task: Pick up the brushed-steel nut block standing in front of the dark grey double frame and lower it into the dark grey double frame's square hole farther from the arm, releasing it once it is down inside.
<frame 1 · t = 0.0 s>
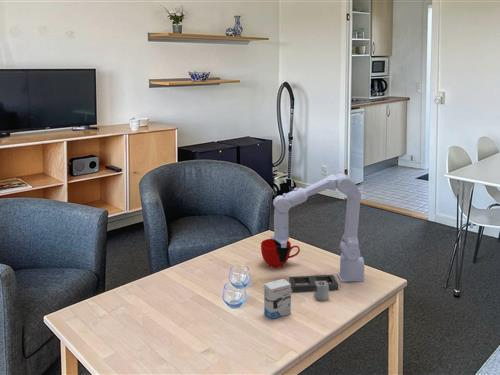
hand: (281, 257, 202), 10 cm above the table, tool pointing down, fingers open, 7 cm apart
ceramic cup: (280, 265, 220), on the table
nut block: (321, 298, 191), on the table
ink box: (277, 314, 180), on the table
dark grey double frame: (313, 286, 200), on the table
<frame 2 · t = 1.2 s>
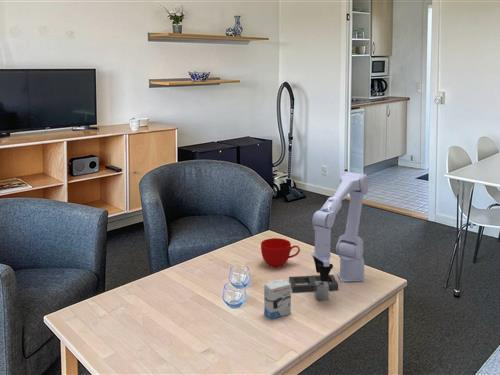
hand: (321, 276, 188), 9 cm above the table, tool pointing down, fingers open, 7 cm apart
nothing on the table moved.
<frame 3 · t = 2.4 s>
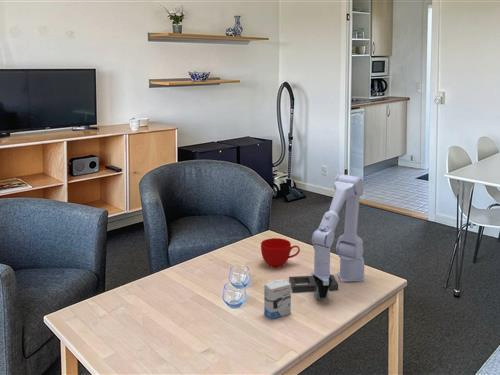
hand: (321, 294, 190), 1 cm above the table, tool pointing down, fingers closed on nut block, 4 cm apart
nut block: (321, 297, 190), on the table, touching gripper
everything else where it was.
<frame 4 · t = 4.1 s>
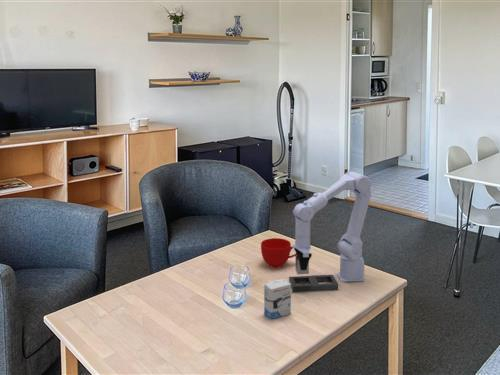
hand: (302, 267, 197), 8 cm above the table, tool pointing down, fingers closed on nut block, 4 cm apart
nut block: (302, 271, 198), point 6 cm above the table, touching gripper
everything else where it was.
when the fingers open (3 cm above the table, at t = 5.8 s): nut block drops 1 cm, resting in dark grey double frame.
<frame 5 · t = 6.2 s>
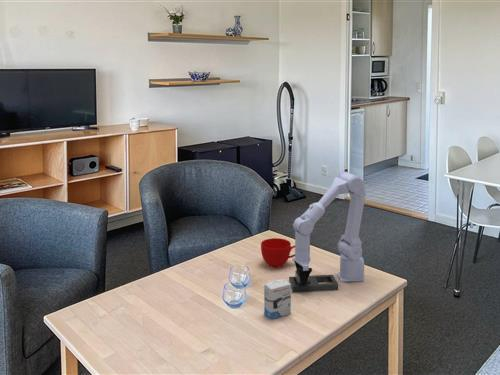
hand: (302, 279, 199), 3 cm above the table, tool pointing down, fingers open, 7 cm apart
nut block: (301, 286, 200), resting in dark grey double frame
everything else where it was.
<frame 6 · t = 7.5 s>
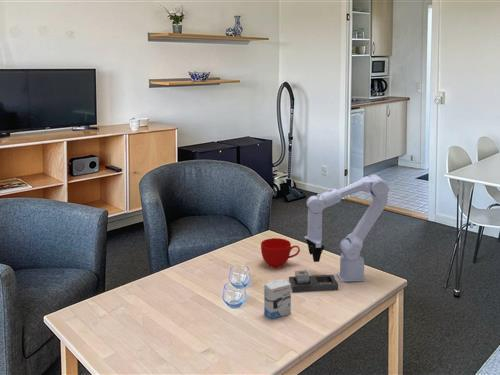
hand: (314, 257, 204), 9 cm above the table, tool pointing down, fingers open, 7 cm apart
nothing on the table moved.
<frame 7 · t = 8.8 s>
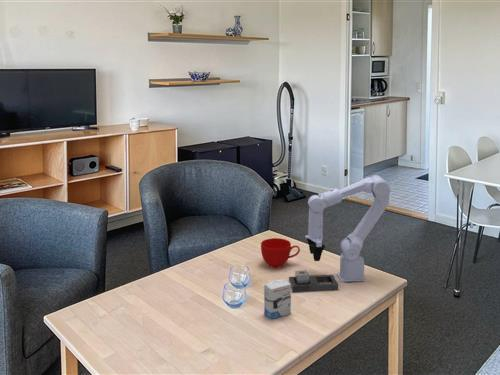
hand: (314, 257, 204), 9 cm above the table, tool pointing down, fingers open, 7 cm apart
nothing on the table moved.
at the end: nut block 0.1 cm from the target spot on the dark grey double frame, point 0.0 cm above the dark grey double frame's base; the gripper is holding nothing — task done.
